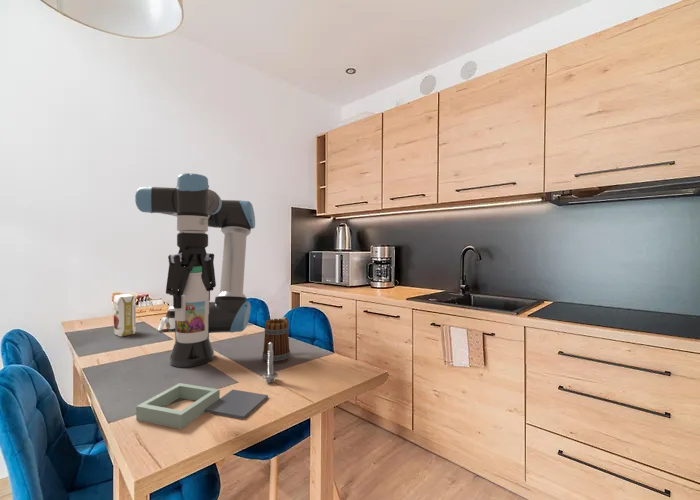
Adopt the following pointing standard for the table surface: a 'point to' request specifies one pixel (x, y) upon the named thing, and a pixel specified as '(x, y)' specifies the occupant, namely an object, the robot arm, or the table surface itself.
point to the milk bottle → (194, 310)
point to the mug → (277, 340)
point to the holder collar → (176, 418)
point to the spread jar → (168, 320)
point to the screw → (270, 366)
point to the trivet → (236, 404)
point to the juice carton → (124, 314)
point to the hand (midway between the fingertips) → (192, 316)
